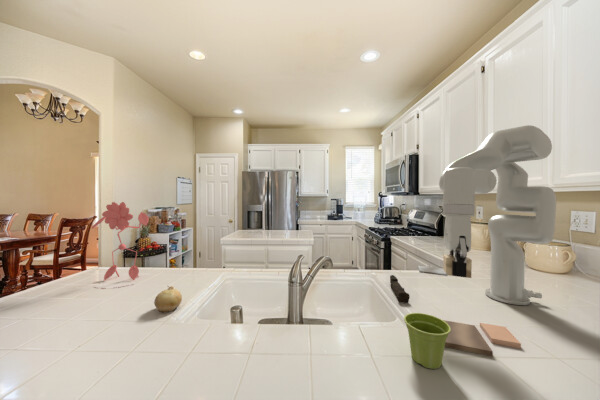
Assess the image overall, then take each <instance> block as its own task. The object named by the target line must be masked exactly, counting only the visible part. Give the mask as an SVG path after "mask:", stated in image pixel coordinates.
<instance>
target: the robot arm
mask: <svg viewBox="0 0 600 400" xmlns="http://www.w3.org/2000/svg"><path fill="white" fill-rule="evenodd" d="M552 149H553V145H552V141H551V138H550V137H549V136H548V135H547V134H546V133H545V132H544V131H543V130H541V129H540V128H539V127H537V126H534V125H528V124H527V125H522V126H516V127H512V128H506V129H501V130H497V131H493V132H492V133H490V134H489V135H488V136H486V137H485V139H484V140H483V141H482V143H481V144H480V145H479V146H478V148H477V149H476V150H475V151H473V152H471V153H468V154H467V155H465V156H463V157H461V158H458V159H456V160H455V161H453V162H451V163H450V164H449V165H447V167H446V168H445V170H444V171H443V172H442V173H441V176H440V178H439V183H438V185H439V188H440V190H441V191H442V192H443V193H442V194H443V196H442V197H443V198H442V199H443V200H442V201H443V202H442V216H445V221H444V230H443V231H444V232H443V233H444V234H443V246H444V247H445V248H446V249H448V251H449V252H448V255H453V256H454V261H452V275H453V276H452V277H459V278H466V266H467V259H466V257H468V253H469V252H471V250H472V221H471V220H472V219H471V217H475V214H476V213H475V211H476V207H475V206H476V205H475V204H476V202H475V201H476V195H483V194H487V193H490V192H492V191H494V190H495V188H496V186H497V189H496V196H495V198H496V199H495V206H496V208H497V209H498V210H499V211H502V212H507V213H508V212H509V213H510V212H511V213H532V214H535V215H521V214H496V215H493V216H492V217H490V218H489V220H488V221H487V222H488V223H487V227H488V234H489V239H490V288H487V289H485V290H484V294H485V295H486V296H487V297H489V298H490V299H491V300H492V299H493V300H495V301H499V302H502V303H504V304H510V305H514V306H528V305H530V304H531V300H530V299H531V298H535V299H543V294H542V293H541V292H537V291H535V292H534V291H533V290H529V289H526V288H525V269H526V268H525V264H526V263H525V259H526V257H525V252H524V250H523V249H522V247H521V246H520V245H519V244H518V242H523V243H527V244H528V243H530V244H537V245H538V244H539V245H547V244H550V243H551V242H552V241H553V239H554V236H555V228H556V212H557V196H556V192H555V191H554V189H553V188H551V187H549V186H544V185H543V186H542V185H541V186H540V185H539V186H537V185H536V186H528V185H529V184H528V183H529V174H528V172H527V171H526V170H525V169H524V168H523V167H522V166H520V165H519V164H517V162H518V163H519V162H527V161H528V162H529V161H539V160H543V159H545V158H546V159H547V157H549V156H550V154H551V153H552ZM494 170H495V171H496V173H497V177H496V175H495V173H494V172H493V171H494Z"/></svg>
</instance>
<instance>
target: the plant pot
mask: <svg viewBox="0 0 600 400" xmlns="http://www.w3.org/2000/svg"><path fill="white" fill-rule="evenodd" d="M443 320H444V319H441V318H440V317H437V316H434V315H432V314H431V315H430V314H428V313H424V312H423V313H421V312H411V313H407V314H405V315H404V317H403V321H404V323H405V324H406V329H407V332H408V337H409V338H408V339H409V345H410V355H411V358H412V359H413V361H414V362H415V363H416V364H420V365H421V366H423V367H424V368H427V369H431V370H433V369H435V370H436V369H439V368H440V367H441V366H442V364H443V359H444V353H445V352H444V351H445V348H446V347H445V342H446V339H447V337H448V334H449V333H450V331H451V328H450V326H449V325H448V324H447V323H446V322H445V321H446V320H445V321H443Z"/></svg>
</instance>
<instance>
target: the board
mask: <svg viewBox="0 0 600 400" xmlns="http://www.w3.org/2000/svg"><path fill="white" fill-rule="evenodd" d="M442 320H443V321H445V322H446V323H447V324H448V325H449V326H450V328H451V331H450V333H449V334H448V337H447V339H446V342H445V347H444V348H449V349H454V350H460V351H464V352H469V353H474V354H479V355H483V356H489V357H493V356H494V355H493V354H494V351H493V350H492V348H491V347H490V345H489V344H488V342H487V341H486V340H485V338H484V337H483V336H482V334H481V333H480V331H479V330H478V328H477V327H476V326H475V325H474V324H468V323H462V322H457V321H451V320H445V319H442Z"/></svg>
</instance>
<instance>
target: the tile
mask: <svg viewBox="0 0 600 400" xmlns="http://www.w3.org/2000/svg"><path fill="white" fill-rule="evenodd" d="M479 328H480V329H481V331H482V332H483V334H484V335H485V336H486V337H487V339H488V340H489V341H490V343H491V344H494V345H495V344H497V345H501V346H506V347H512V348H517V349H521V348H522V343H521V342H520V341H519V340H518V339H517V337H515V335H513V333H511V331H510V330H509V329H508V328H507V327H506V326H503V325H496V324H489V323H484V322H479Z"/></svg>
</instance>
